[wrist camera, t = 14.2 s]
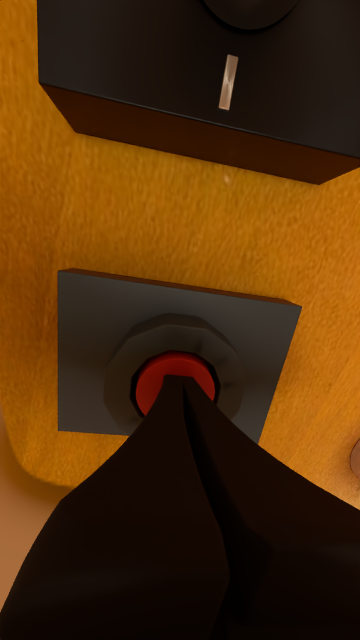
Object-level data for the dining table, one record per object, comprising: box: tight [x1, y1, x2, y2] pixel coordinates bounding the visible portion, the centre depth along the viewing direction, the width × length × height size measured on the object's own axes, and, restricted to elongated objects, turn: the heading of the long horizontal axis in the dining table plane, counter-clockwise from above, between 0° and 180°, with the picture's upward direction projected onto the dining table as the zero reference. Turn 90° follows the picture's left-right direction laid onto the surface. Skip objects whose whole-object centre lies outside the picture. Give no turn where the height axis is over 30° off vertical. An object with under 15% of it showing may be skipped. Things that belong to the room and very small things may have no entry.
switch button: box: [136, 350, 215, 416], centre depth 11 cm, size 4×4×2 cm
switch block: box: [58, 268, 302, 444], centre depth 12 cm, size 12×9×4 cm
